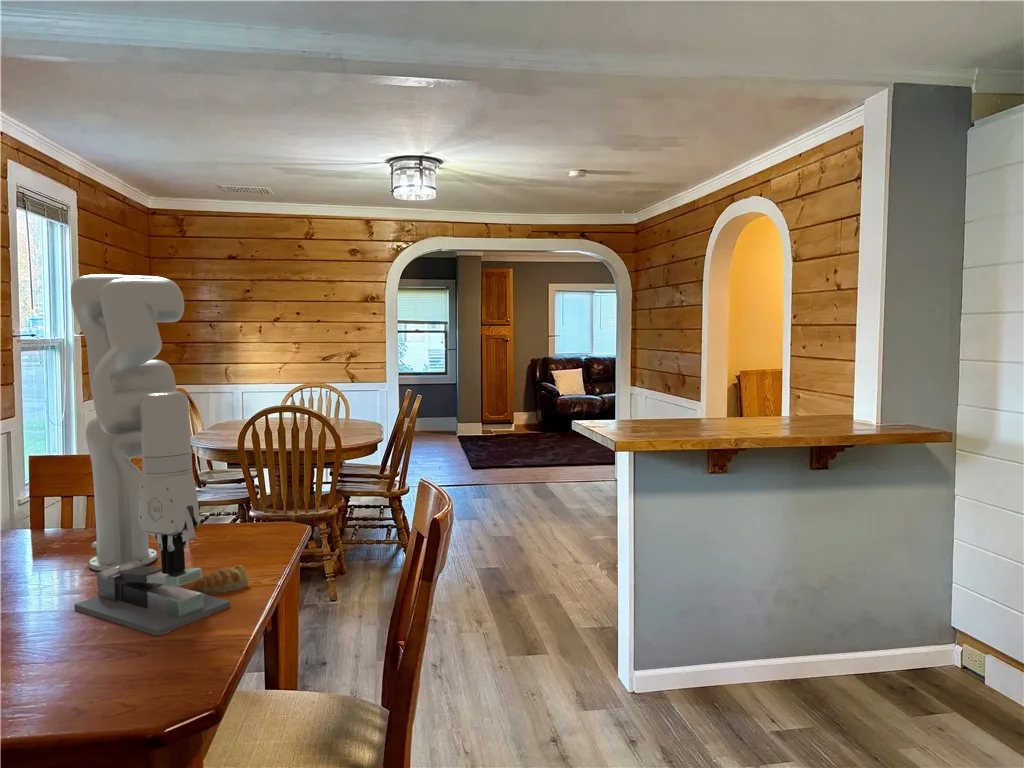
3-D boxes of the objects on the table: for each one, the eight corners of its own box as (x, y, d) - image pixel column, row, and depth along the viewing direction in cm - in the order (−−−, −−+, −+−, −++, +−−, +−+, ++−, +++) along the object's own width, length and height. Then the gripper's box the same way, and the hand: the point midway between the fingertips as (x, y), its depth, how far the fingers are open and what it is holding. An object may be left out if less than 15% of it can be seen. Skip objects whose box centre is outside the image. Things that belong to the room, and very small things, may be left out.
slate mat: (74, 609, 127) (74, 604, 127) (148, 584, 139) (148, 579, 139) (157, 636, 116) (157, 630, 116) (230, 606, 128) (229, 601, 128)
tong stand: (97, 597, 130) (95, 568, 130) (131, 586, 136) (129, 558, 135) (174, 620, 119) (173, 588, 119) (207, 607, 125) (206, 577, 125)
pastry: (201, 600, 132) (200, 580, 131) (188, 591, 137) (187, 571, 136) (251, 587, 138) (250, 568, 138) (237, 579, 143) (236, 560, 143)
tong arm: (119, 582, 128) (118, 573, 128) (145, 573, 132) (143, 565, 132) (177, 586, 120) (176, 576, 120) (202, 577, 124) (201, 568, 124)
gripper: (119, 466, 123) (125, 572, 124) (176, 470, 115) (183, 584, 116) (159, 459, 129) (165, 561, 130) (216, 463, 122) (222, 571, 123)
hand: (173, 571), depth 123 cm, fingers closed
